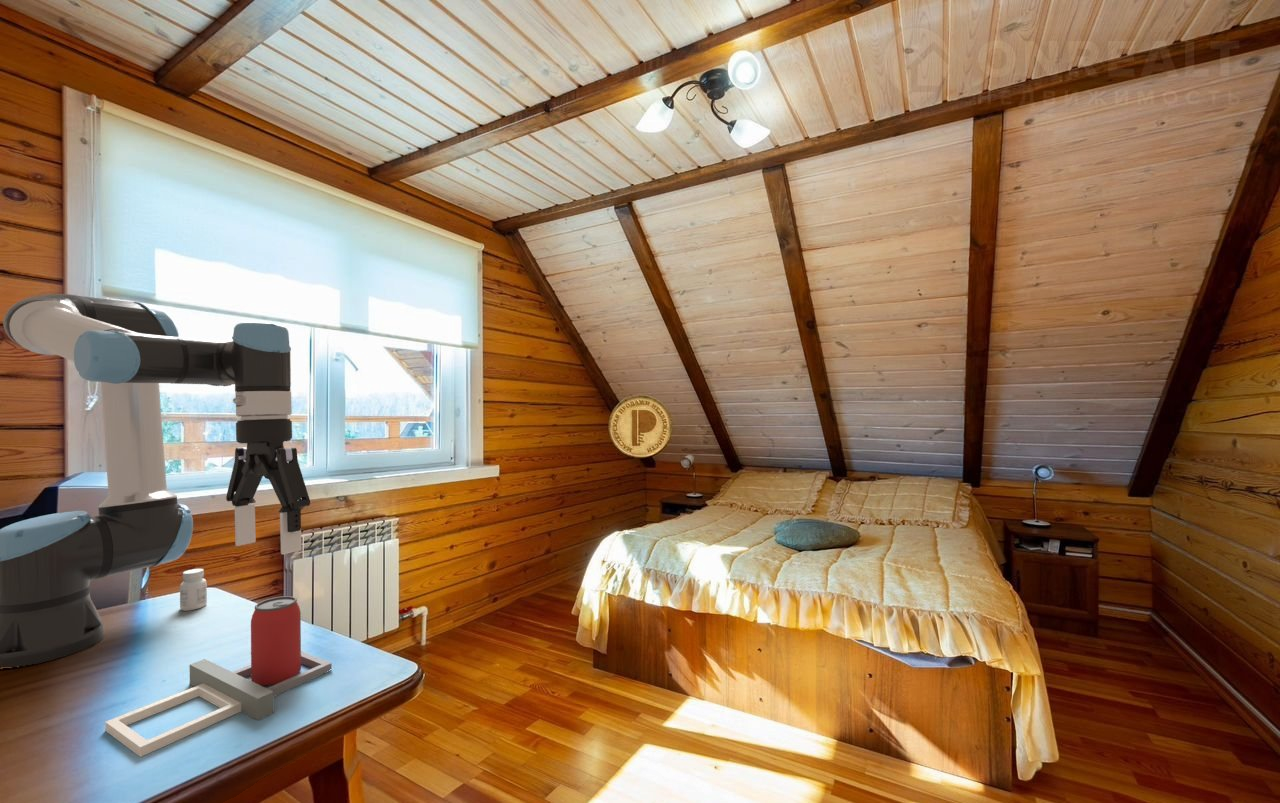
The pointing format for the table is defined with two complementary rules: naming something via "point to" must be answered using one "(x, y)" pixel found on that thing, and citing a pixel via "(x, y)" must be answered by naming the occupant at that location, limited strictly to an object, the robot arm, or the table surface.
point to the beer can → (275, 641)
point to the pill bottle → (193, 590)
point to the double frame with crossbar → (211, 701)
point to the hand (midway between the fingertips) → (267, 548)
